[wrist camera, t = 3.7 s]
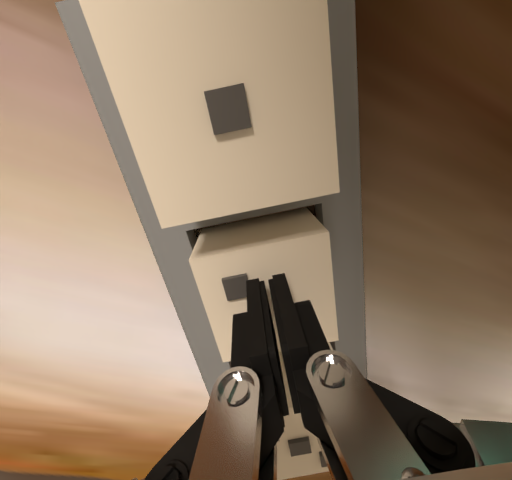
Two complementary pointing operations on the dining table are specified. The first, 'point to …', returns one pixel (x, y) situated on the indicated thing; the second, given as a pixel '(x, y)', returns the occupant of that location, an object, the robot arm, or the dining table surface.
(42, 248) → the dining table surface
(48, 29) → the dining table surface
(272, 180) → the tile one
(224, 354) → the tile two
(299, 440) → the tile three
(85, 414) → the dining table surface
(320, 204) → the board
